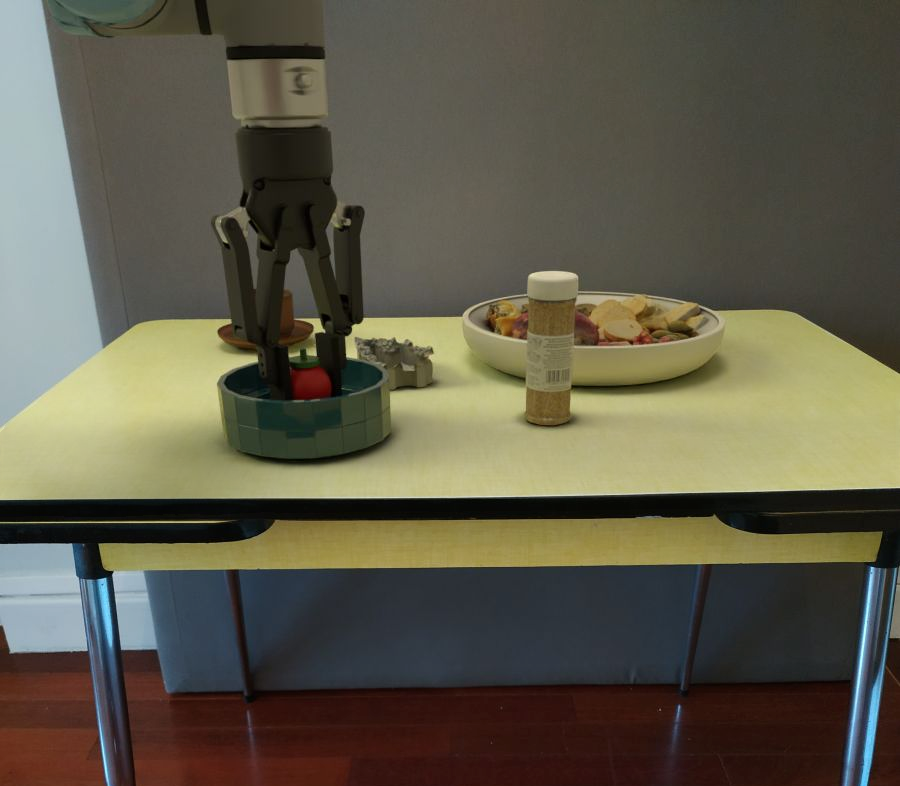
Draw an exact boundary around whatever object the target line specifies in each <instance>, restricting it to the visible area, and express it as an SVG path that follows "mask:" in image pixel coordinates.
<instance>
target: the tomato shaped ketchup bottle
mask: <svg viewBox="0 0 900 786" xmlns="http://www.w3.org/2000/svg"><path fill="white" fill-rule="evenodd" d="M290 357H291V358H289V364H290V375H291V385H292V395H293V400H314V399H322V398H330V396H331V392H332V385H331V381H330V378H329V376H328V374H327V373H326V371H325V370H324V369H323V368H322V367H320V366H319V364H320V359H319V357H317V355H313V354H312V355H311V354H307V348H305V347H301V348H299V355H295V356H290Z"/></svg>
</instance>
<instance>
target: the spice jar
mask: <svg viewBox="0 0 900 786" xmlns="http://www.w3.org/2000/svg"><path fill="white" fill-rule="evenodd" d="M526 286H527V287H526V294H527V296H528V301H529V316H528V332H527V366H526V378H525V387H526V389H525V390H526V391H525V411H524V415H523V416H524V418H525V419H526V421H528V422H529V423H532V424H537V425H541V426H542V425H543V426H557V425H562V424H565V423H567V422H568V421H570V419H571V417H572V413H571V394H572V385H571V383H572V369H573V346H574V324H575V303H576V301H577V298H576V297H577V296H578V292H579V276H578V275H577V273H574V272H571V271H570V272H569V271H564V270H563V271H562V270H545V271H537V272H533V273H529V274H528V276H527V285H526Z"/></svg>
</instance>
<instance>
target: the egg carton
mask: <svg viewBox="0 0 900 786" xmlns="http://www.w3.org/2000/svg"><path fill="white" fill-rule="evenodd" d="M354 346H355V349H356V357H357V358H356V359H361V360H366V361H369V362H372V363H375V364H378V365H381V366H382V367H383V368H385V369H386V370H387V371H389V384H390V391H392V390H396V389H397V388H398V387H407V386H411V387H415V388H425V387H426V386H427V385H429V384H431V383H432V382H433V373H434V366H433V362H432V360H431V359H430V358H429V357H430V356H432V355H435V352H434V348H433V346H431V345H427V346H419V345H417V344H416V345H414V343H413V341H412V340H410V339H408V338H406V339H405V340H404V341H403V342H398V341H397V339H396V337H395V336H394V337H391V338H390V339H387V338H385V337H384V338H383V337H382V338H381V337H380V338H376V337H373V336H372V337H371V338H370V339H369V338H362V337H359V336H354Z"/></svg>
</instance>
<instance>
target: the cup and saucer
mask: <svg viewBox="0 0 900 786" xmlns="http://www.w3.org/2000/svg"><path fill="white" fill-rule="evenodd" d="M254 295H255V299H256V288H254ZM293 299H294V298H293V291H291V290H289V289H285V288H284V293H283V303H282V314H281V325H280V335H279V344H282V345H285V346H288V347H289V346H294V345H296V344H299V343H302V342H304V341H305V340H307V339H309V338H310V337H311V335H312V334H313V333H314V330H315V326H314V325H313V324H312V323H311V322H309V321H305V320H301V319H295V311H294V300H293ZM216 333H217V336H218V338H219V339H221V340H222V341H223V342H224V343H226V344H228V345H230V346H234V347H236V348H237V347H238V348H243V349H251V350H257V349H256V346H255V344H251V343H249V342H246V341H243V340H240V339H238V338H236V337H235V336H234V335H233V330H232V323H228V324H225V325H224V324H223V326H221V327H219V328H218V329H217V330H216Z"/></svg>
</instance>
